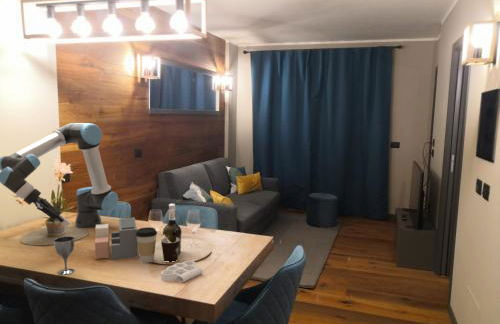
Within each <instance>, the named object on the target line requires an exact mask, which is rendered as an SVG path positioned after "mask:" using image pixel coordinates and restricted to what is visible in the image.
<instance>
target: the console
mask: <svg viewBox="0 0 500 324" xmlns="http://www.w3.org/2000/svg"><path fill="white" fill-rule="evenodd" d="M118 226H119V229H118V231H111V232H110V233H111V239H110V240H111V243H110V244H111V245H110V250H111V254H110V255H111V260H122V259H132V258H138V256H139V255H138V254H139V251H138V244H137V236H136V232H137V230H138V229H137V228H138V227H137V222H136V218H135V217H133V216H132V217H122V218H118Z"/></svg>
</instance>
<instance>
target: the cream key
mask: <svg viewBox="0 0 500 324" xmlns="http://www.w3.org/2000/svg"><path fill="white" fill-rule="evenodd" d="M94 230H95V238H105V237H108V240H109V241H110V234H109V223H105V224H104V223H103V224H102V223H101V224H100V225H96V226H95V229H94Z"/></svg>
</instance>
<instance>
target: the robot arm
mask: <svg viewBox="0 0 500 324" xmlns="http://www.w3.org/2000/svg"><path fill="white" fill-rule="evenodd" d="M102 138H103V133H102V130H101V128H100V127H99V126H98V125H97V124H95V123H90V122H71V123H68V124H65V125H63V126H61V127H59V128H57V129H55V130H53V131H52V132H51V133H50V134H49V135H47V136H46V137H43V138H42V139H40V140H38V141H36V142H34V143H31V144H29V145H28V146H26V147H24V148H22V149H20V150H18V151H16V152H13V153H12V154H11V155H4V156H0V184H1V185H2V186H4V187H5V188H7V189H8V190H9V191H11V192H12V193H13V194H15V195H16V197H17V198H18V197H19V198H20V199H21V200H23V201H24V203H26V205H27V204H28V205H29V206H30V205H31V204H34V205H35V207H36V209H37V210H39V211H41V212H42V213H43V214H45V215H47V216H48V217H50V218H51V219H52V221H55V220H56V221H58V222H59V223H60V224H61V225H63V226H64V227H65V228H67V227H68V226H69V225H71V223H72V222H71V221H70V220H68V219H67V218H66V217H64V216H63V215H62V213H61V212H60V211H59V210H57V209H56V207H55V206H54V205H52V203H50V202H49V201H48V200H47V199H46V198H43V197H40V196H41V194H42V192H41V191H40V190H38V188H35V187H34V186H33V184H31V183H29V181H27V180H26V179H27V178H28V177H29V176H30V175H31V174H32V173H34V171H36V170H37V169H38V167H39V166H41V160H40V159H39V158H40V157H42V156H44V155H46V154H47V153H49V152H51V151H53V150H55V149H57V148H59V147H64V146H66V145H70V144H76V145H77V147H78V148H77V149H78V150H80V151H82V154H83V159H84V162H85V164H86V168H87V169H86V170H87V173H88V176H89V180H90V183H91V186H88V187H82V188H79V189H77V190H76V205H77V214H76V218H75V222H74V226H75V227H76V228H83V229H84V228H85V229H86V228H93V227H96V225H100V224H102V217H101V216H100V213H99V211H102V212H103V211H104V212H111V211H113V210H114V209H115V208H117V205H118V202H119V196H118V193H117V192H115V191H113V189H112V186H111V185H110V184H109V183H108V181H107V177H106V172H105V169H104V165H103V161H102V158H101V157H102V156H101V154H100V148H99V147H100V146H101V141H102Z"/></svg>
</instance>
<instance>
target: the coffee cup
mask: <svg viewBox="0 0 500 324" xmlns="http://www.w3.org/2000/svg"><path fill="white" fill-rule="evenodd" d="M157 235H158V232H157V230H156V228H155V227H148V226H147V227H141V228H138V229H137V232H136V236H137V251H138V254H139V255H138V256H139V262H140V263H142V264H148V263H149V262H150V263H152V262H151V261H153V260H154V261H155V253H156V243H157ZM154 261H153V262H154Z"/></svg>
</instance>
